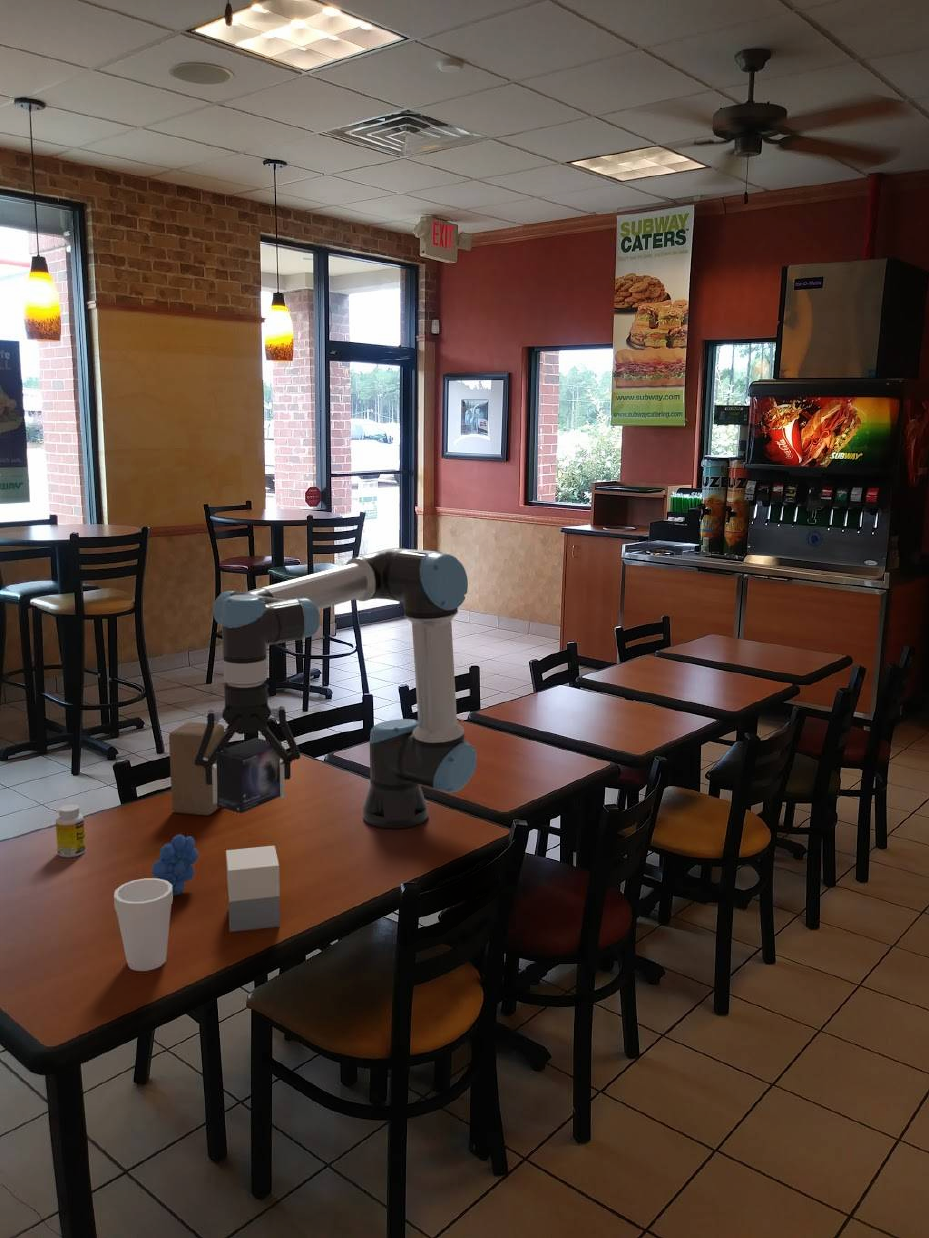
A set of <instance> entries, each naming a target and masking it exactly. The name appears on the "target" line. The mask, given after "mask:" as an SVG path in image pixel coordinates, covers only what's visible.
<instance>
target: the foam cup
mask: <svg viewBox="0 0 929 1238" xmlns="http://www.w3.org/2000/svg"><path fill="white" fill-rule="evenodd" d="M173 897H174V895H173V891H172V884H170V883H169V882H168V881H167V880H162V879H158V878H156V877H154V878H153V877H152V878H151V877H149V878H147V877H146V878H139V879H135V880H130V881H127V882H126V883H123V884H121V885H120V886H119V887H118V888H116V889H115V890H114V895H113V902H114V903H113V905H114V910H115V912H116V916H117V920H118V927H119V930H120V935H121V939H122V944H123V949H124V954H125V959H126V963H127V967H129V968H130V970H132V971H137V972H147V971H150V970H157V968H159V967H162V966H163V965H164V964H165V963H166V962H167V955H168V954H167V953H168V943H169V933H170V923H171V921H170V920H171V911H172V904H173Z"/></svg>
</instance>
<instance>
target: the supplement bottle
mask: <svg viewBox="0 0 929 1238" xmlns="http://www.w3.org/2000/svg"><path fill="white" fill-rule="evenodd" d="M55 830H56V845H57V846H56V847H57V854H58V856H60V857H62V858H74V857H75V858H76V857H78V856H81V855H82V854H84V852H85V851H86V837H85V835H86V833H85V819H84V815H83V814H82V813H80V806H79V805H77V804H65V805H63V806H61V807H59V809H58V816H57V817H56V818H55Z"/></svg>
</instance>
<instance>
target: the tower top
mask: <svg viewBox="0 0 929 1238" xmlns="http://www.w3.org/2000/svg"><path fill="white" fill-rule="evenodd" d="M225 857H226V858H225V859H226V860H225V861H226V863H225V864H226V883H227V892H228V893H227V895H228V894H229V902H231V901H240V900H249V899H258V898H267V897H276V896H279V897H280V896H281V895H280V893H281V891H280V864H279V863H280V862H279V859H278V855H277V851H276V846H275V845H267V846H257V847H247V848H245V847H244V848H237V849H236V848H235V849H227V850H225Z"/></svg>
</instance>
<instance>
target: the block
mask: <svg viewBox="0 0 929 1238" xmlns="http://www.w3.org/2000/svg"><path fill="white" fill-rule="evenodd" d="M206 726H207V722H195V721H188V722H186V723H184V724H182V725H180V726H179V727H178V728H176V729H174V730H172V731H170V733H169V735H168V741H169V743H168V746H169V764H170V765H169V766H170V767H169V768H170V787H171V788H170V789H171V806H172V807H171V809H172V812H174V813H177V814H186V815H197V816H211V815H213V813H215V812H216V811H217V810H218V809H219V808H220V807H218V806H217V803H215V804H213V785H207V784H206V772H205V768H204V767H203V766H197V765H195V757H196V754H197V751H198V748H199V745H200V743H201V740H202V737H203V734H204V731H205V728H206ZM224 732H225V726H224V725H223V724H220V723H218V724H214V730H213V733H212V735H211V738H210V741H209V744H208V747H207V749H206V752H205V755H204V758H207V757H208V756H209V754H210V753H211V751H212V750H213V748H214V747H215V745H216V744H217V742H218V741H219V739H220V738H221V736H222V735H223V733H224ZM224 749H226V747H225V748H224ZM214 764H216V765H217V760H216V761H215V763H214Z"/></svg>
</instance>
